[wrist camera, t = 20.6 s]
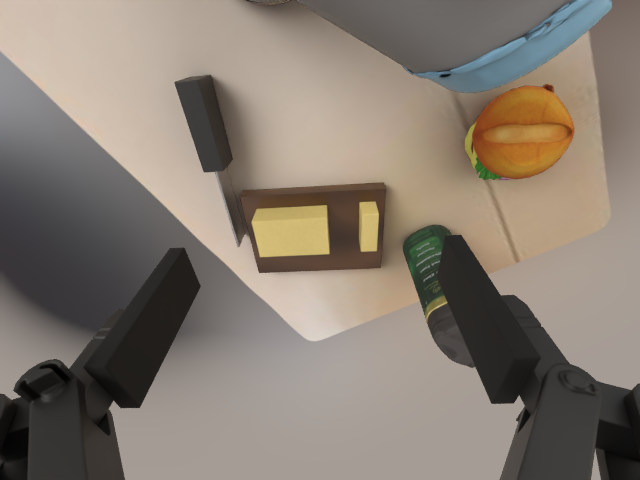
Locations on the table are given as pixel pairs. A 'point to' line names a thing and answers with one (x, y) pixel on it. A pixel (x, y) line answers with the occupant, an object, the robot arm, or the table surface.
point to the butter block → (292, 231)
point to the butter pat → (368, 226)
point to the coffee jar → (434, 291)
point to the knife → (210, 139)
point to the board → (340, 222)
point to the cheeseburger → (519, 134)
